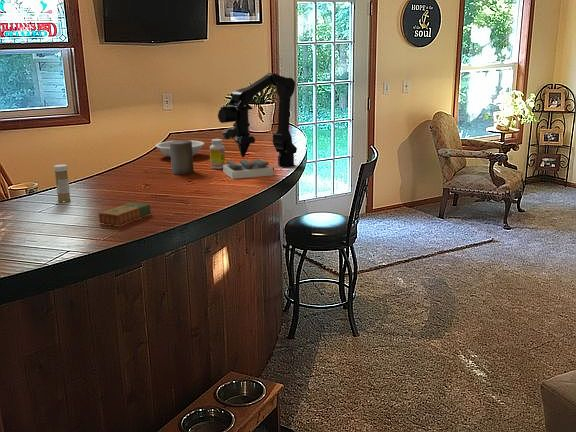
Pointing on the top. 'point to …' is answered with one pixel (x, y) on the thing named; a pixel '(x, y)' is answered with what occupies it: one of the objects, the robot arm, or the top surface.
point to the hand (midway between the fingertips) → (242, 157)
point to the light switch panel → (247, 171)
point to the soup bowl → (165, 147)
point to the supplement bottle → (217, 154)
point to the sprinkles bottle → (62, 182)
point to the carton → (124, 213)
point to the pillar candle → (181, 157)
